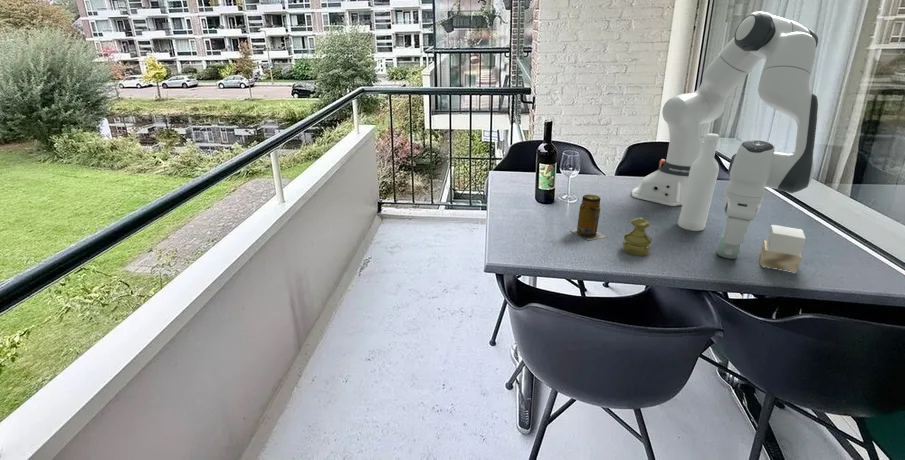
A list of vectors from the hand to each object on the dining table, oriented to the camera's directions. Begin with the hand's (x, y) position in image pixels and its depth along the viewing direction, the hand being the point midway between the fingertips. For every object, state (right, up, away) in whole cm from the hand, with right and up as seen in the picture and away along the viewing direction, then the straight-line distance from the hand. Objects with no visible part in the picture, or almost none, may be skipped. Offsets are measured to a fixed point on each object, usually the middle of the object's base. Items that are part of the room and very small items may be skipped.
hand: (728, 249), depth 128 cm
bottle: (0, +6, +21) cm, 22 cm away
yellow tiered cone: (-25, -1, +4) cm, 25 cm away
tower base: (+11, -4, -3) cm, 12 cm away
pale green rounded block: (0, -1, +1) cm, 2 cm away
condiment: (-35, +4, +15) cm, 38 cm away
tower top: (+11, 0, -5) cm, 13 cm away
